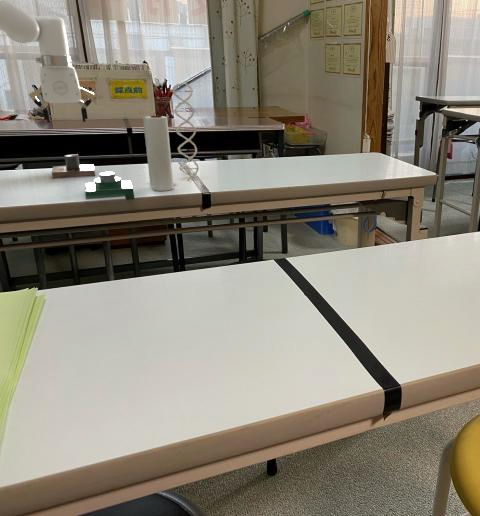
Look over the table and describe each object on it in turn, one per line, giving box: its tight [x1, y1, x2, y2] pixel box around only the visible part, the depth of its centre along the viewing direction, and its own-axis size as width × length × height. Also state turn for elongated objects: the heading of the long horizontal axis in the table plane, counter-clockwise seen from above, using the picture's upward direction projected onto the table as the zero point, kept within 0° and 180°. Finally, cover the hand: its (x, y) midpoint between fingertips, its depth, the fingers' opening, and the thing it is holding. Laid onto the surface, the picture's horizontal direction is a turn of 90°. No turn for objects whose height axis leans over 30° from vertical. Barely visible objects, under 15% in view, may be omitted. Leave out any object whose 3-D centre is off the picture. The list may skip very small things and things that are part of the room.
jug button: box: [98, 171, 116, 181], centre depth 143 cm, size 4×4×2 cm
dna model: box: [171, 82, 200, 182], centre depth 164 cm, size 7×6×30 cm
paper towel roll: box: [142, 115, 175, 192], centre depth 152 cm, size 7×6×21 cm
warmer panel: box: [51, 163, 96, 179], centre depth 166 cm, size 12×10×3 cm
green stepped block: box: [84, 176, 135, 201], centre depth 144 cm, size 12×10×5 cm
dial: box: [64, 153, 81, 169], centre depth 165 cm, size 4×4×4 cm
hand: (67, 122), depth 157 cm, fingers open, 9 cm apart
